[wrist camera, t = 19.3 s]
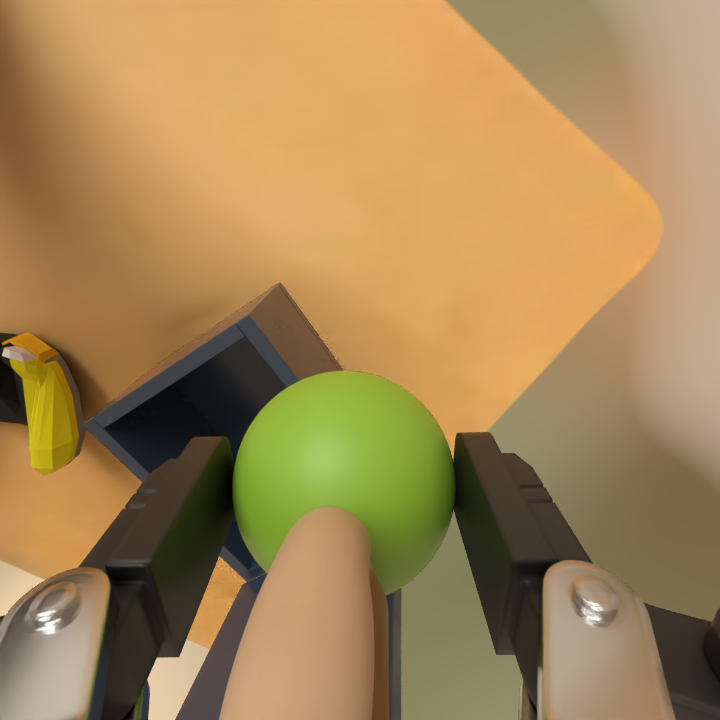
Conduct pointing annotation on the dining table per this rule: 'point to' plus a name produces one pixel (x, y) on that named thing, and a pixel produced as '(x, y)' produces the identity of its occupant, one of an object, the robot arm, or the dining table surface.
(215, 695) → the lid
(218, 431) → the compartment
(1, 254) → the dining table surface
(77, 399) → the gaming controller
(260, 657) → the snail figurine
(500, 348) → the dining table surface
